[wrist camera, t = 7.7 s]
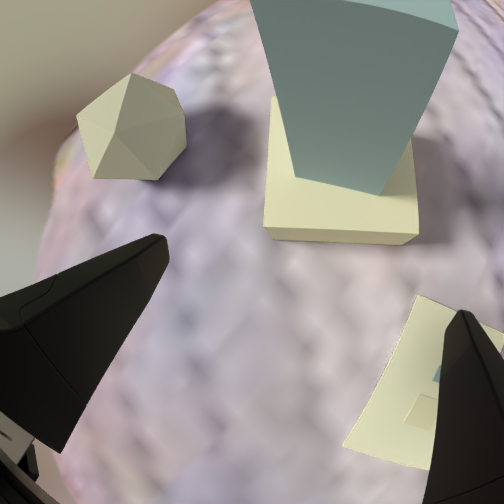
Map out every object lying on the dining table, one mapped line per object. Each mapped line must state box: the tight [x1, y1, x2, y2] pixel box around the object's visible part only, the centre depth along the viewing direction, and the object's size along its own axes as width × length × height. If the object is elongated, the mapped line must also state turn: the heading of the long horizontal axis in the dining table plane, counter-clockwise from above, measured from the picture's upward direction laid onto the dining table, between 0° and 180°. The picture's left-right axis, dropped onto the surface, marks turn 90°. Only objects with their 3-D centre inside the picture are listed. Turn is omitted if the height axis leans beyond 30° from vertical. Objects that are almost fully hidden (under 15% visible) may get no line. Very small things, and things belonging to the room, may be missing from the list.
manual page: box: [342, 294, 504, 470], centre depth 17 cm, size 12×9×1 cm
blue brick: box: [250, 0, 459, 196], centre depth 11 cm, size 4×5×12 cm
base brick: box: [263, 97, 419, 245], centre depth 19 cm, size 9×9×4 cm
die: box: [77, 73, 187, 180], centre depth 21 cm, size 8×9×10 cm
